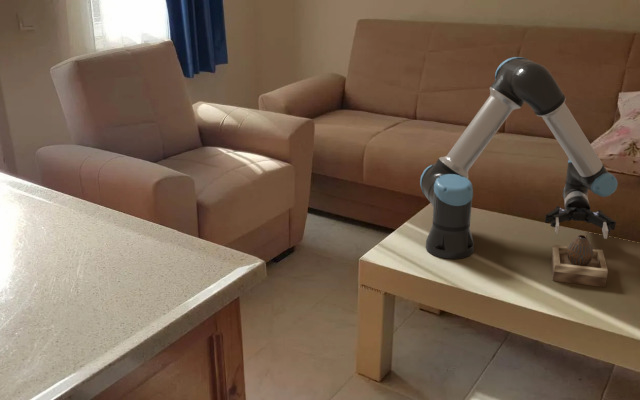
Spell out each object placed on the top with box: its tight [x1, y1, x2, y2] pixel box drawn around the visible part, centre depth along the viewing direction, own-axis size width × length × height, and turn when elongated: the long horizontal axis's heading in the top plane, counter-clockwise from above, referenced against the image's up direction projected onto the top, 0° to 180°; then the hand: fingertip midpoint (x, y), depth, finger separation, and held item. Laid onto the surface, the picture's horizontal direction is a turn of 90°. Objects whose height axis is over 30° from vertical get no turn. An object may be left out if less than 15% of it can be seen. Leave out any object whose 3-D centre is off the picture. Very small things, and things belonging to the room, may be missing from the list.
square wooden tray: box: [550, 244, 609, 288], centre depth 183 cm, size 14×14×5 cm
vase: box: [567, 234, 594, 266], centre depth 182 cm, size 7×7×9 cm
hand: (581, 232), depth 186 cm, fingers open, 13 cm apart
